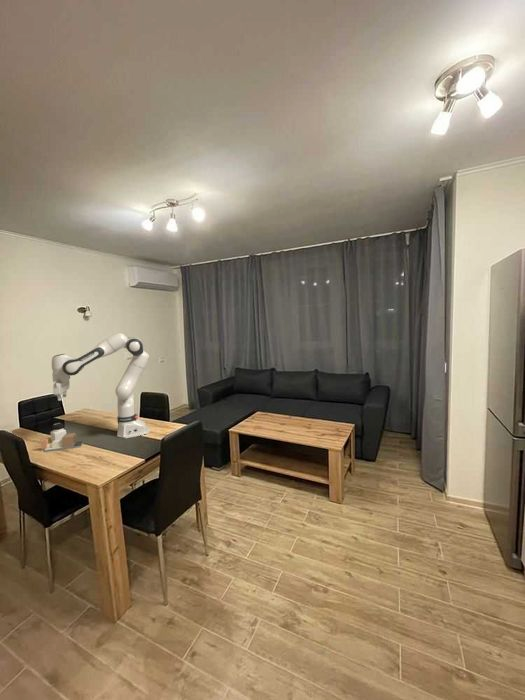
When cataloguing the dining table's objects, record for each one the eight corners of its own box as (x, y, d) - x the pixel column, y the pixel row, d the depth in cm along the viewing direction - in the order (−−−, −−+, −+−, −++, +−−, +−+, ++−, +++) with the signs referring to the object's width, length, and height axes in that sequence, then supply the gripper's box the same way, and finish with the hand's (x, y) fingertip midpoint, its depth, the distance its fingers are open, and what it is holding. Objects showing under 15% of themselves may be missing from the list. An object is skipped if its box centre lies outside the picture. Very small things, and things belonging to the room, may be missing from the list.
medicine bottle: (67, 440, 202) (65, 423, 201) (55, 443, 196) (54, 426, 195) (62, 437, 206) (61, 421, 205) (51, 441, 200) (49, 424, 199)
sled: (64, 444, 192) (64, 436, 191) (63, 446, 188) (62, 438, 188) (43, 446, 188) (42, 438, 187) (41, 449, 184) (40, 441, 184)
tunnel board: (83, 442, 197) (82, 431, 196) (80, 447, 190) (79, 436, 189) (48, 447, 190) (47, 435, 190) (44, 452, 183) (43, 440, 182)
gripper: (61, 380, 183) (62, 402, 185) (70, 375, 203) (72, 394, 204) (49, 381, 181) (51, 403, 183) (60, 376, 201) (61, 395, 202)
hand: (62, 398), depth 193 cm, fingers open, 8 cm apart
